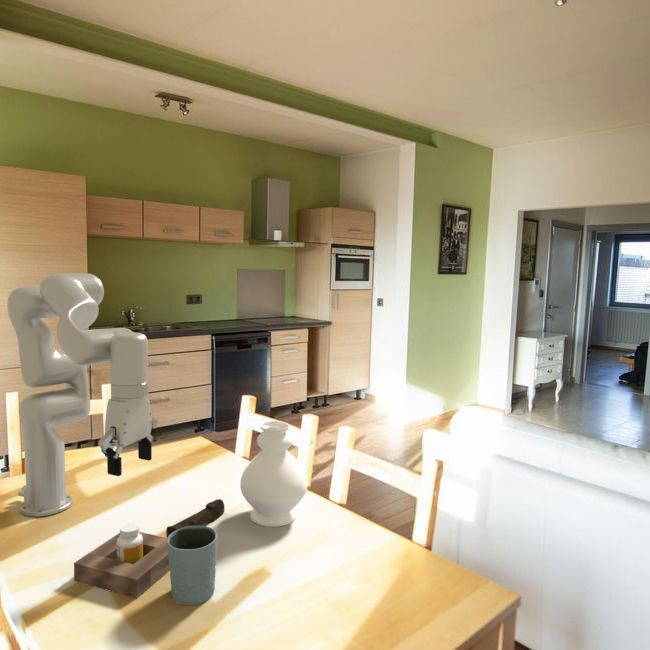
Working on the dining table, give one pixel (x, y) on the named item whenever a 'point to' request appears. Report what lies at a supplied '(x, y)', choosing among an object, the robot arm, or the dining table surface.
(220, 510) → the hand tool
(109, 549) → the collar block
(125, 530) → the supplement bottle
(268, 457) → the decorative vase
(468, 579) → the dining table surface
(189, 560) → the blue grey cup
